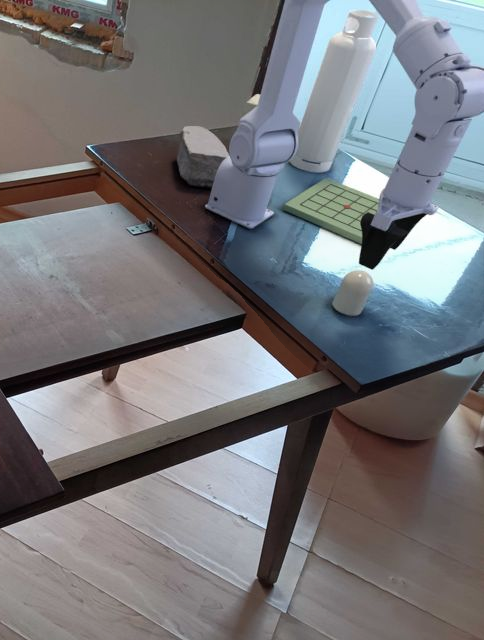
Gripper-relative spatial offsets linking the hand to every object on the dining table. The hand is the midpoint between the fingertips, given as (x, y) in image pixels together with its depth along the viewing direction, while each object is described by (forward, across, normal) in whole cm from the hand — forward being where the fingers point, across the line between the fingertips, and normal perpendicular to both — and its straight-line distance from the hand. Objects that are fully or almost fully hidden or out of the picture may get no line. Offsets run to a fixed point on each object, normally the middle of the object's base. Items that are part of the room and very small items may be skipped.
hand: (377, 255), depth 96 cm
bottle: (+9, +39, +27) cm, 49 cm away
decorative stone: (+9, +16, +39) cm, 44 cm away
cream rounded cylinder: (+8, -2, 0) cm, 9 cm away
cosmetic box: (+9, +29, +36) cm, 47 cm away
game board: (+8, +25, +13) cm, 30 cm away
